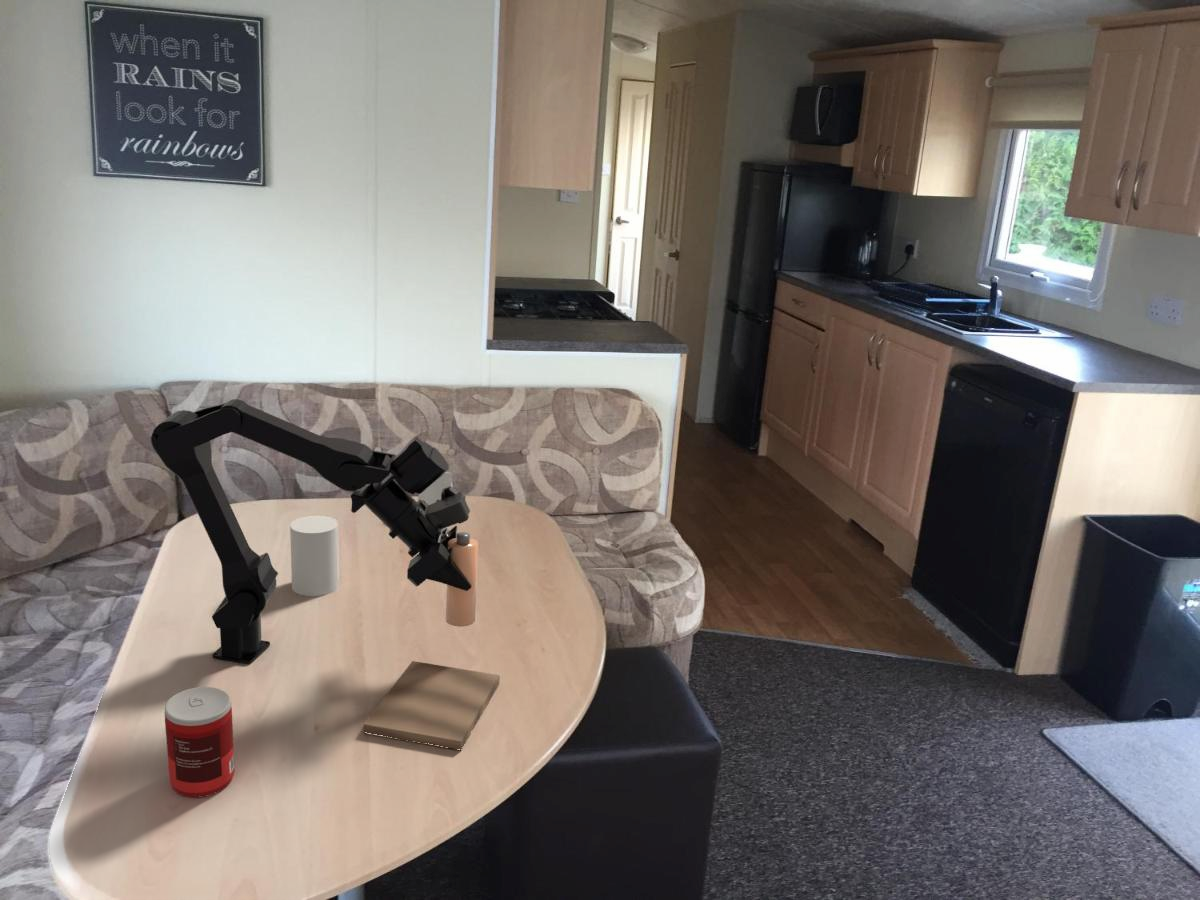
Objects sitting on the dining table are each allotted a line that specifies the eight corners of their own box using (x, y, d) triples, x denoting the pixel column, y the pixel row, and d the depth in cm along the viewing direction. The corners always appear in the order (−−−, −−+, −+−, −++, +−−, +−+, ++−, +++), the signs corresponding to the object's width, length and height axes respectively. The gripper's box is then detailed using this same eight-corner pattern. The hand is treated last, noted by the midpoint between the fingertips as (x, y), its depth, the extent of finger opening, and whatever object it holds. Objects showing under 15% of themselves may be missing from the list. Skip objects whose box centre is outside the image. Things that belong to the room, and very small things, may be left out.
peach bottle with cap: (469, 628, 154) (472, 542, 149) (441, 623, 154) (443, 537, 150) (479, 615, 158) (482, 531, 154) (451, 610, 159) (454, 527, 154)
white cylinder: (345, 579, 183) (344, 518, 179) (329, 598, 175) (328, 535, 171) (302, 574, 183) (300, 513, 180) (284, 593, 176) (282, 530, 172)
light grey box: (449, 519, 214) (450, 475, 211) (418, 517, 214) (418, 473, 211) (452, 513, 217) (453, 470, 214) (421, 511, 217) (421, 468, 214)
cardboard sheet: (461, 750, 135) (461, 741, 134) (363, 733, 137) (363, 724, 137) (499, 683, 152) (499, 675, 151) (412, 669, 154) (412, 660, 153)
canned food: (213, 753, 131) (209, 679, 127) (247, 779, 126) (244, 703, 123) (157, 778, 125) (151, 702, 122) (190, 807, 120) (185, 728, 117)
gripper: (432, 500, 140) (507, 575, 144) (444, 458, 158) (511, 526, 162) (375, 549, 142) (450, 622, 146) (393, 502, 159) (460, 568, 164)
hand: (470, 581), depth 154 cm, fingers closed on peach bottle with cap, 5 cm apart
